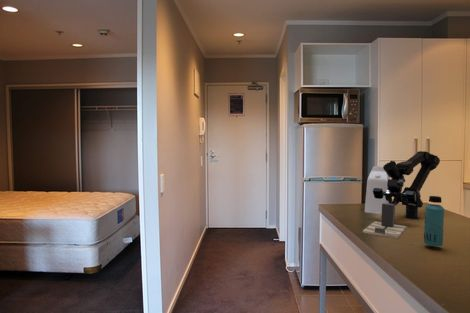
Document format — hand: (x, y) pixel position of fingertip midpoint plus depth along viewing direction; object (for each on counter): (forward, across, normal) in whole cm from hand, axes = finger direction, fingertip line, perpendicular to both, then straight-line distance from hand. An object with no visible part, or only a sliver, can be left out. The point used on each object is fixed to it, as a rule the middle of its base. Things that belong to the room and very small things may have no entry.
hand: (390, 208), depth 155 cm
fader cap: (+9, 0, +1) cm, 9 cm away
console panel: (+13, 0, -2) cm, 13 cm away
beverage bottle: (+23, +20, -11) cm, 33 cm away
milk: (-14, -13, +26) cm, 32 cm away
